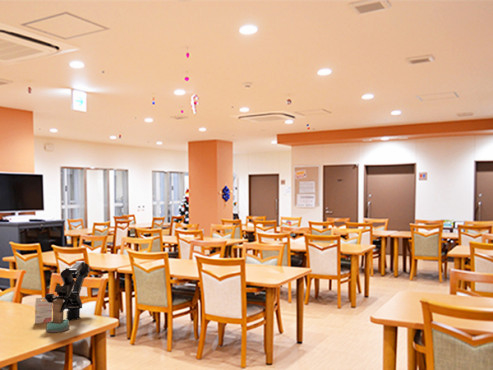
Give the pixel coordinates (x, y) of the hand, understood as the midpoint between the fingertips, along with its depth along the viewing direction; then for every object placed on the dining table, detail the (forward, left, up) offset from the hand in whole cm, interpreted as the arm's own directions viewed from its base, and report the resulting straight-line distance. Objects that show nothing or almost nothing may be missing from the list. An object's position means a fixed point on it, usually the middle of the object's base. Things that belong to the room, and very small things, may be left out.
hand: (56, 311), depth 232 cm
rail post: (-1, -1, -7) cm, 7 cm away
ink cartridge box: (+1, -22, -10) cm, 24 cm away
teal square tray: (-1, -1, -10) cm, 10 cm away
